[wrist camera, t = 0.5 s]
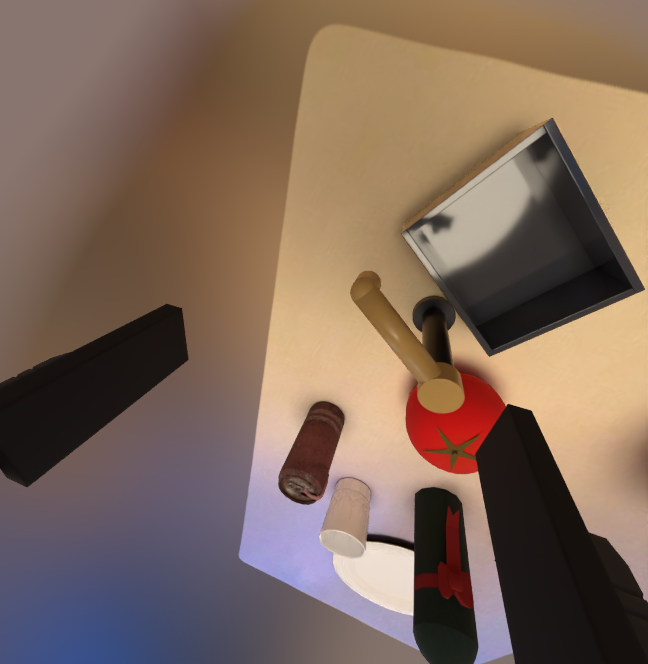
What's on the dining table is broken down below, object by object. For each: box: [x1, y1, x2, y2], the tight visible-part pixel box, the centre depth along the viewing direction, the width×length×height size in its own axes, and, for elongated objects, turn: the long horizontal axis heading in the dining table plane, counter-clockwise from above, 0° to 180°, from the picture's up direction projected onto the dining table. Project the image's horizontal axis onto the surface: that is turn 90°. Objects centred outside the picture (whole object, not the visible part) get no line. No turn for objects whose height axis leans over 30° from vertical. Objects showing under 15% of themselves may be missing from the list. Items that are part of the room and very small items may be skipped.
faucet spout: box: [350, 271, 465, 413], centre depth 23 cm, size 13×3×3 cm, turn 42°
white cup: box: [319, 478, 371, 559], centre depth 52 cm, size 8×8×10 cm
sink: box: [401, 118, 645, 357], centre depth 27 cm, size 12×15×7 cm
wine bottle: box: [413, 487, 478, 664], centre depth 37 cm, size 8×10×30 cm
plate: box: [333, 541, 414, 616], centre depth 65 cm, size 29×29×2 cm
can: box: [278, 402, 344, 505], centre depth 43 cm, size 6×6×14 cm
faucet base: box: [413, 296, 455, 367], centre depth 30 cm, size 5×5×13 cm
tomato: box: [406, 373, 506, 474], centre depth 35 cm, size 12×12×10 cm
